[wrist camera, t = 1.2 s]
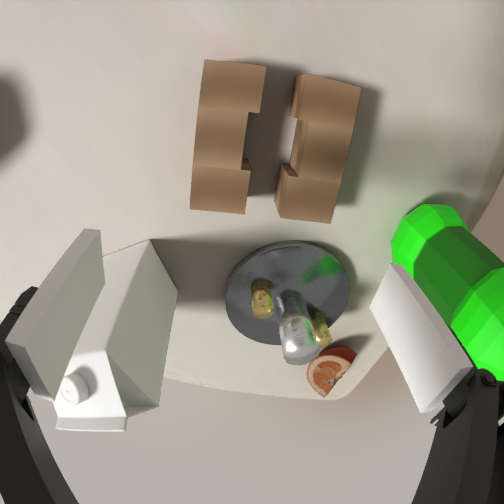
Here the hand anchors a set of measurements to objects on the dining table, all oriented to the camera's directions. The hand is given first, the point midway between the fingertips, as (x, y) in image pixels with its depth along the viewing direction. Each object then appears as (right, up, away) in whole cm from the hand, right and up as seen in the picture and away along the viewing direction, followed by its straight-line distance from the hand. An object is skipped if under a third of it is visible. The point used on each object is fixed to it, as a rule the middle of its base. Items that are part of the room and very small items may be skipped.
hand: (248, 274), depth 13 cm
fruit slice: (+11, -14, +28) cm, 33 cm away
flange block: (+2, +11, +12) cm, 17 cm away
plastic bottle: (+19, +3, +19) cm, 27 cm away
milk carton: (-12, -1, +19) cm, 23 cm away
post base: (+4, -4, +22) cm, 22 cm away
